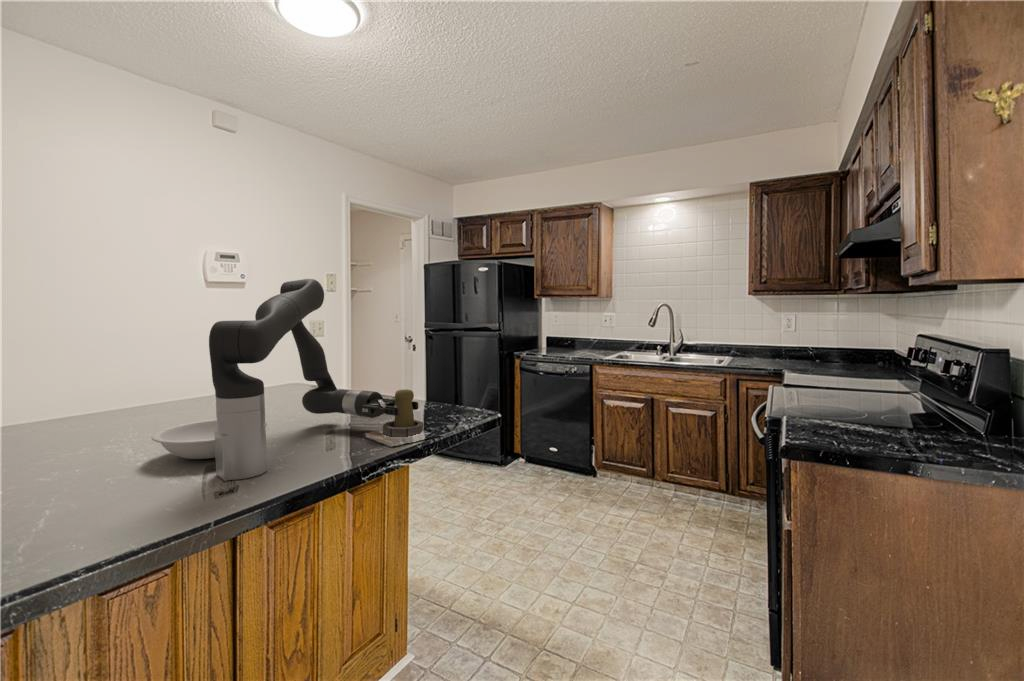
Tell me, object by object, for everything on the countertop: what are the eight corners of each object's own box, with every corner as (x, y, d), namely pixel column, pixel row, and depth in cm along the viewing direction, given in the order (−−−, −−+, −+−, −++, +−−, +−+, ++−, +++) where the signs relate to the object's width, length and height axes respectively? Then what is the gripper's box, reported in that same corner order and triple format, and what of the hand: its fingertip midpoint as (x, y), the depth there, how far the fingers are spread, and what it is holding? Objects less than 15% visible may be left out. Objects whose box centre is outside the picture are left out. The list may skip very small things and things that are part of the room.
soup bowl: (217, 474, 107) (215, 444, 106) (125, 467, 112) (124, 439, 111) (288, 444, 130) (287, 419, 130) (210, 439, 135) (209, 416, 135)
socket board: (391, 447, 127) (391, 433, 126) (364, 437, 136) (364, 424, 136) (442, 436, 138) (441, 423, 138) (413, 427, 148) (413, 415, 147)
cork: (412, 429, 135) (412, 389, 136) (390, 430, 135) (390, 389, 136) (417, 427, 141) (417, 389, 142) (396, 428, 141) (396, 389, 142)
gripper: (344, 394, 136) (391, 399, 129) (379, 387, 149) (423, 391, 142) (344, 421, 136) (391, 427, 129) (379, 411, 149) (423, 416, 142)
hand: (408, 408), depth 136 cm, fingers open, 8 cm apart
